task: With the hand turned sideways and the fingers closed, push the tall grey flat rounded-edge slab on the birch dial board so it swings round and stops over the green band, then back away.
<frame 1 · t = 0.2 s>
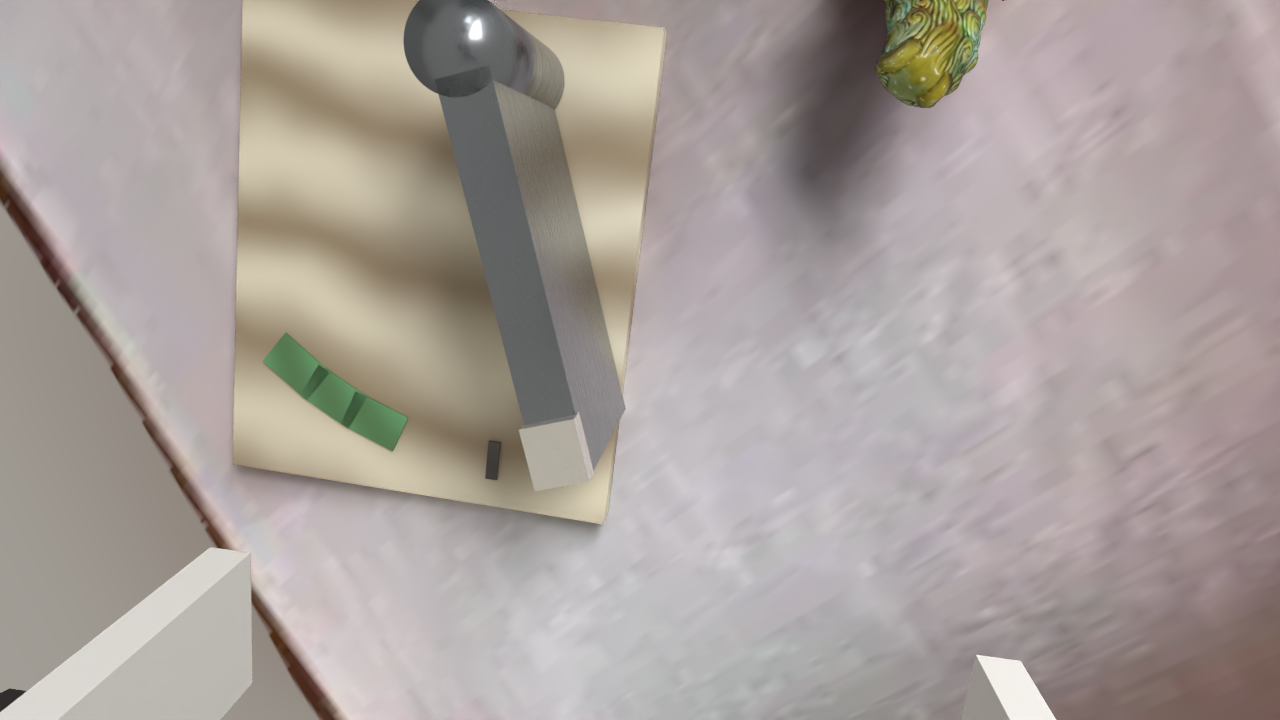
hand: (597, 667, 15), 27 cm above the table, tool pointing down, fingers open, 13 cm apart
grey flat rounded-edge slab: (536, 239, 34), point 7 cm above the table, hinge at 20.0°
dial board: (441, 261, 42), on the table
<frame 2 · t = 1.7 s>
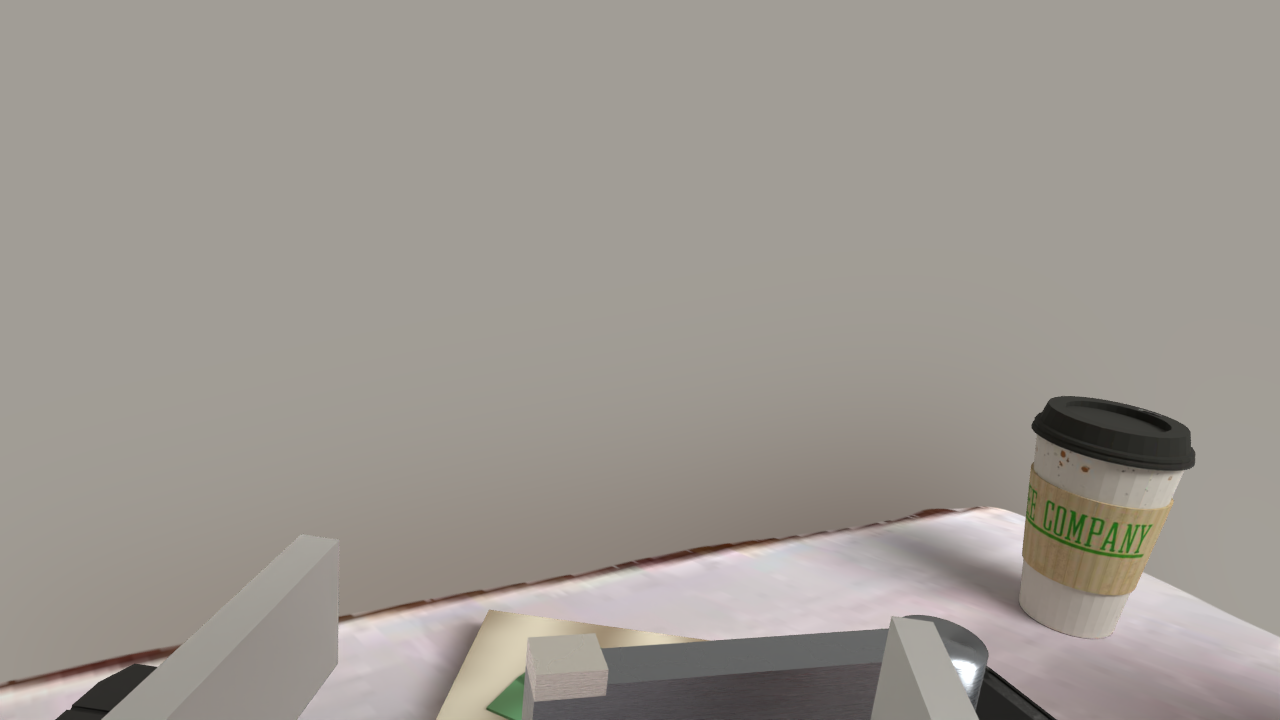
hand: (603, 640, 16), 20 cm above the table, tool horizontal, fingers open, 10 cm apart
coffee cup: (1064, 616, 60), on the table
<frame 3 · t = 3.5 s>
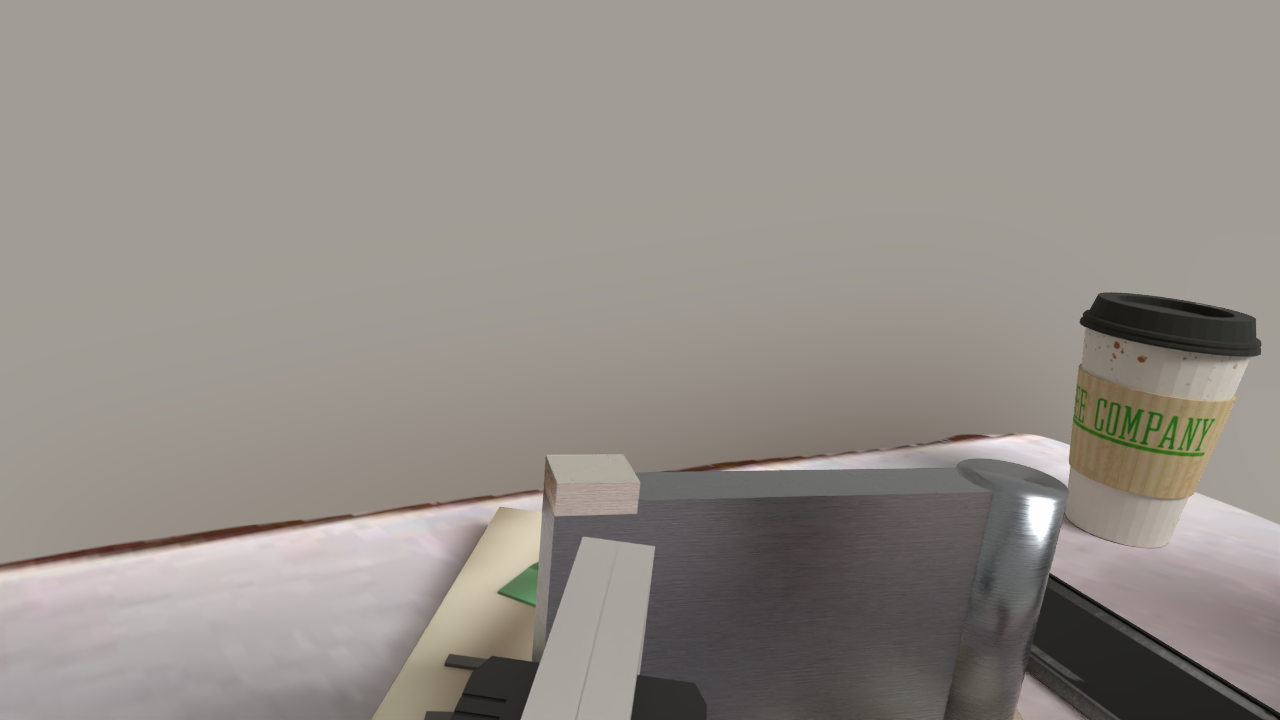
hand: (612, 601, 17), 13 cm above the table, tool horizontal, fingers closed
phone: (1084, 668, 40), on the table
grey flat rounded-edge slab: (803, 611, 28), point 7 cm above the table, hinge at 20.0°
dial board: (711, 669, 36), on the table
coffee cup: (1115, 528, 56), on the table
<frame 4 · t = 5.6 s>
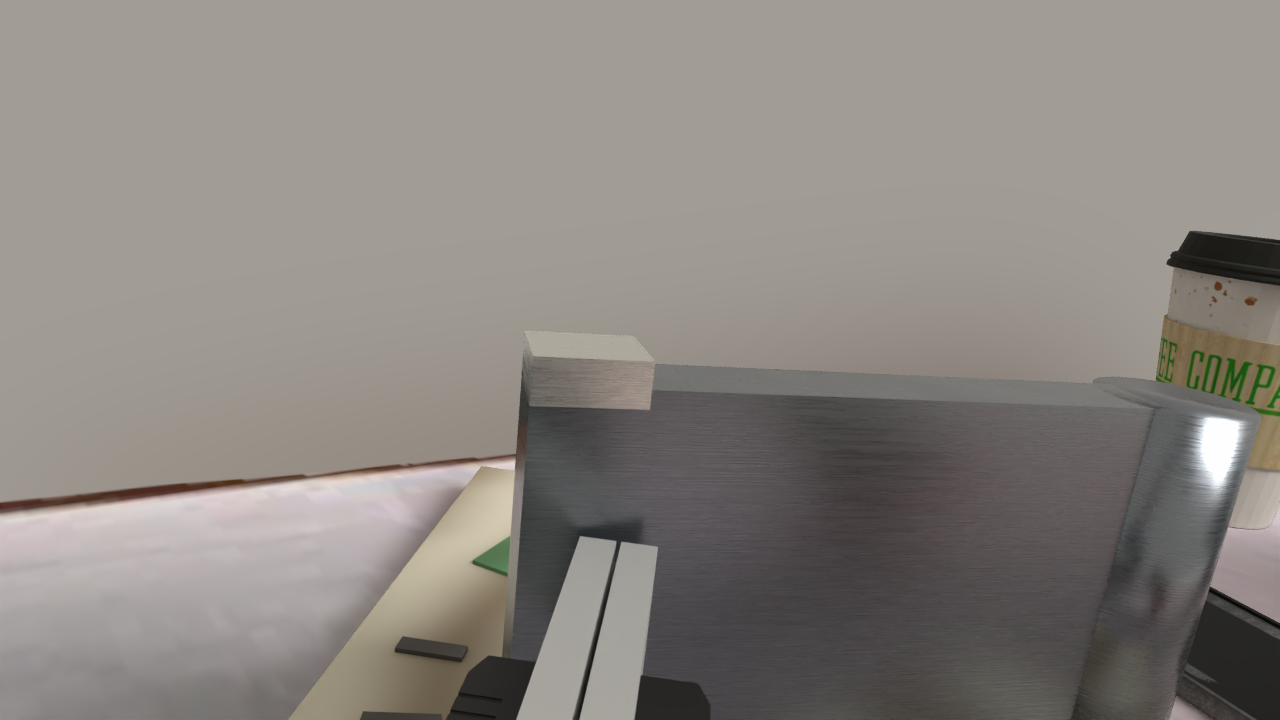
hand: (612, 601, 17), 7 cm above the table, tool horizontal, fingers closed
phone: (1207, 667, 32), on the table
grey flat rounded-edge slab: (881, 571, 20), point 7 cm above the table, hinge at 17.6°, touching gripper
dial board: (743, 662, 28), on the table
coffee cup: (1204, 507, 48), on the table
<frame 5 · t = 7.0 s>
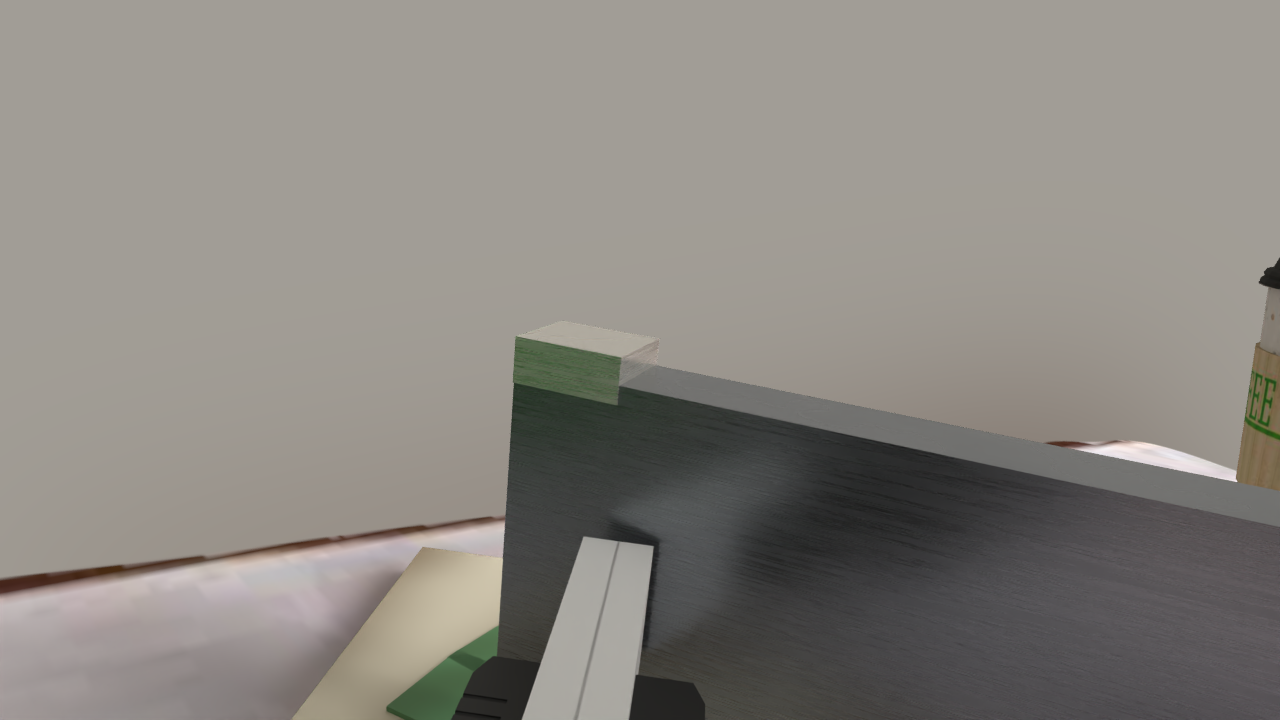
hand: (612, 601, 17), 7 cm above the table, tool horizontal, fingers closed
grey flat rounded-edge slab: (917, 665, 16), point 7 cm above the table, hinge at -16.8°, touching gripper
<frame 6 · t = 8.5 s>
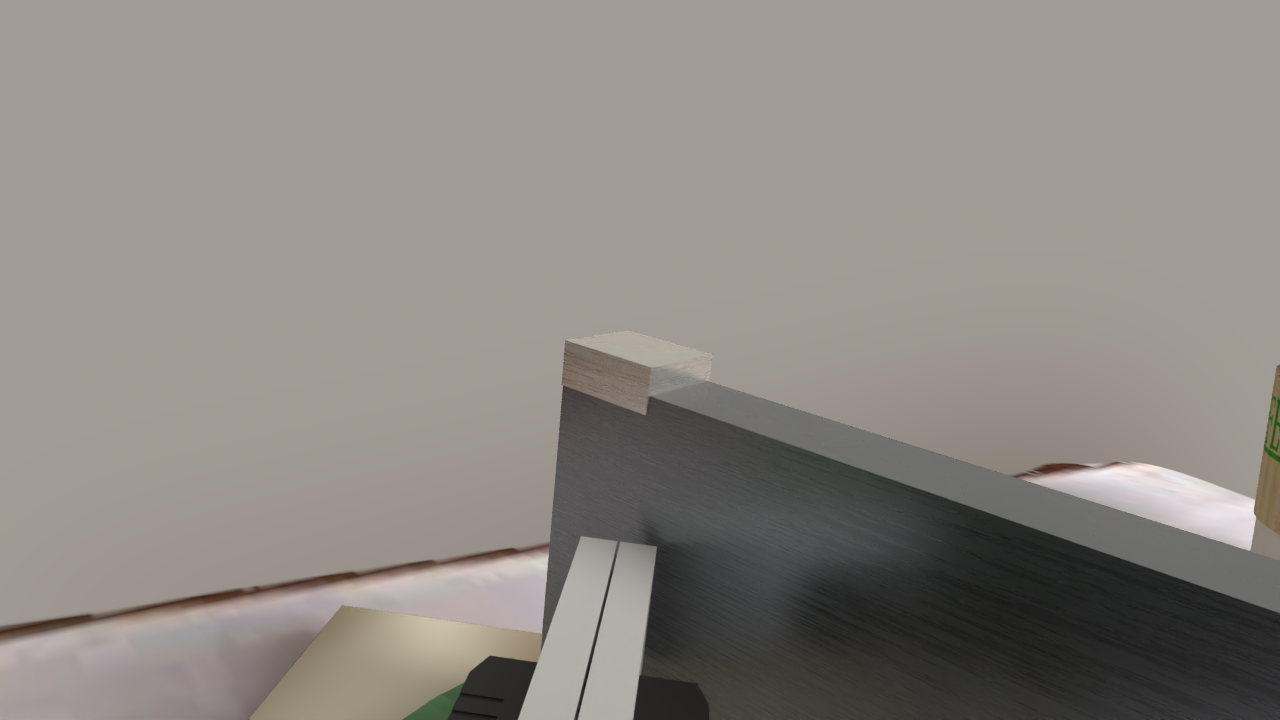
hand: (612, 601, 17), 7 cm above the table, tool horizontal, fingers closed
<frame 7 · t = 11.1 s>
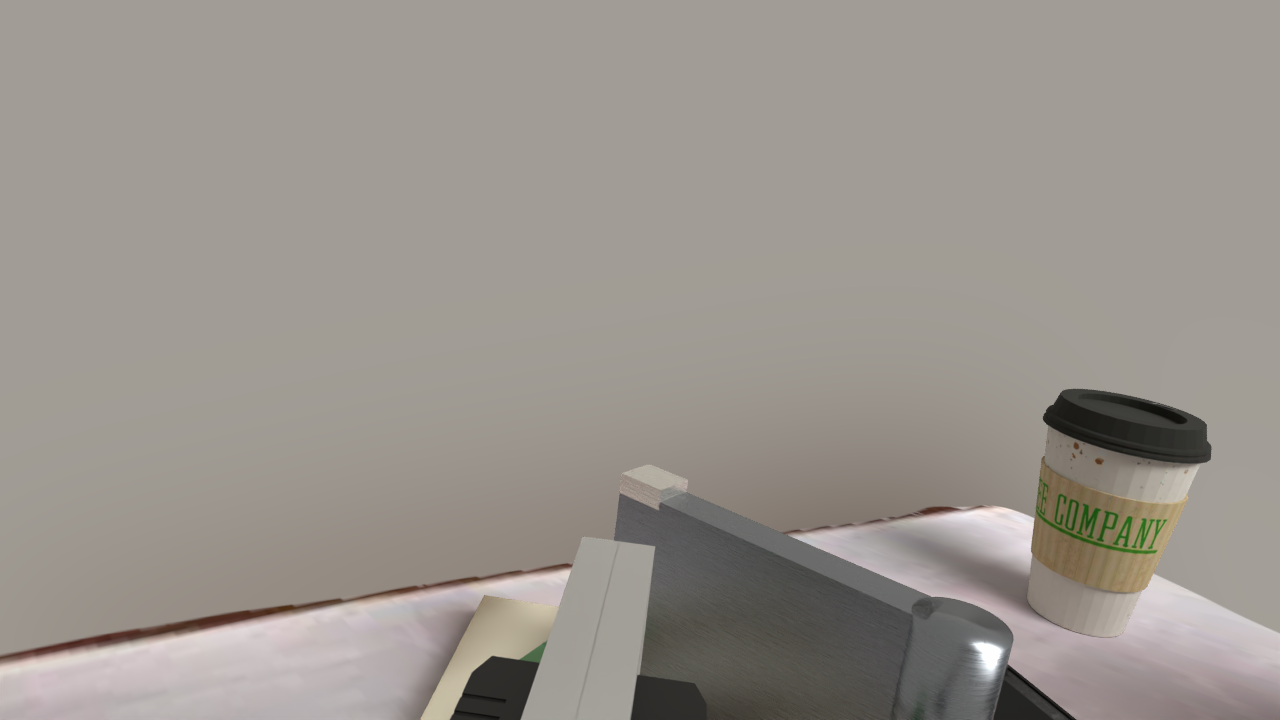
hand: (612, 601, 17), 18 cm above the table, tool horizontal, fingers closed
grey flat rounded-edge slab: (776, 647, 36), point 7 cm above the table, hinge at -35.1°
coffee cup: (1073, 614, 58), on the table
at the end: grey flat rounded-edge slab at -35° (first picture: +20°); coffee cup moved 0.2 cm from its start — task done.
